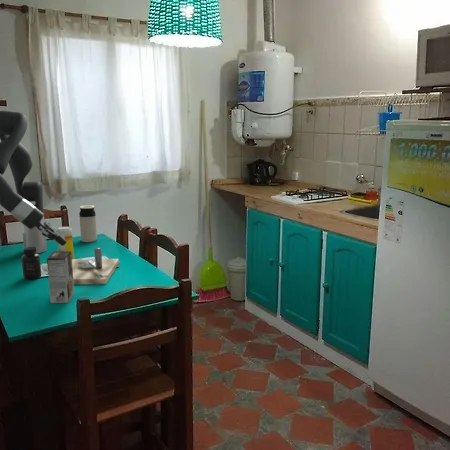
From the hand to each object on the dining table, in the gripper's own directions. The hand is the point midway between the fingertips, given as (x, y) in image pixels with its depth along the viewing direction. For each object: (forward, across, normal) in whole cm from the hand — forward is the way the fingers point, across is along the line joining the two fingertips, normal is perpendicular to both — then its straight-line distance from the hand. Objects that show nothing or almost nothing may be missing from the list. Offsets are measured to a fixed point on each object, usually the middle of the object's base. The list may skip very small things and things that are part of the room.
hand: (64, 243), depth 180 cm
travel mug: (+18, +65, +4) cm, 68 cm away
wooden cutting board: (+16, +10, +5) cm, 20 cm away
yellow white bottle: (+10, +31, +12) cm, 34 cm away
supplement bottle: (+2, +10, +21) cm, 23 cm away
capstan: (+17, +7, +2) cm, 18 cm away
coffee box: (+10, -17, +12) cm, 23 cm away
